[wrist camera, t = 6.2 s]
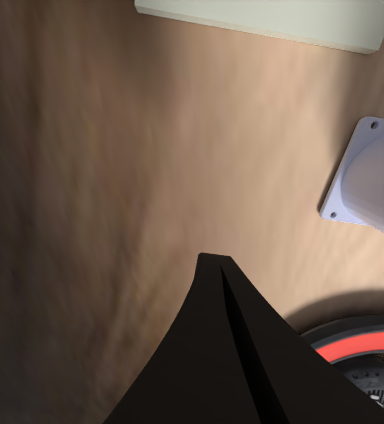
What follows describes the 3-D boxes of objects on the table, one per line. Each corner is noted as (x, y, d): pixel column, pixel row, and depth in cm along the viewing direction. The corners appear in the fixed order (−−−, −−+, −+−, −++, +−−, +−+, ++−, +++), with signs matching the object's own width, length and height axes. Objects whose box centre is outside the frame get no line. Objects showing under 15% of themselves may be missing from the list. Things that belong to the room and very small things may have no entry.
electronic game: (380, 420, 31) (411, 468, 27) (236, 404, 30) (243, 452, 26) (488, 314, 22) (559, 360, 18) (290, 286, 21) (315, 328, 17)
